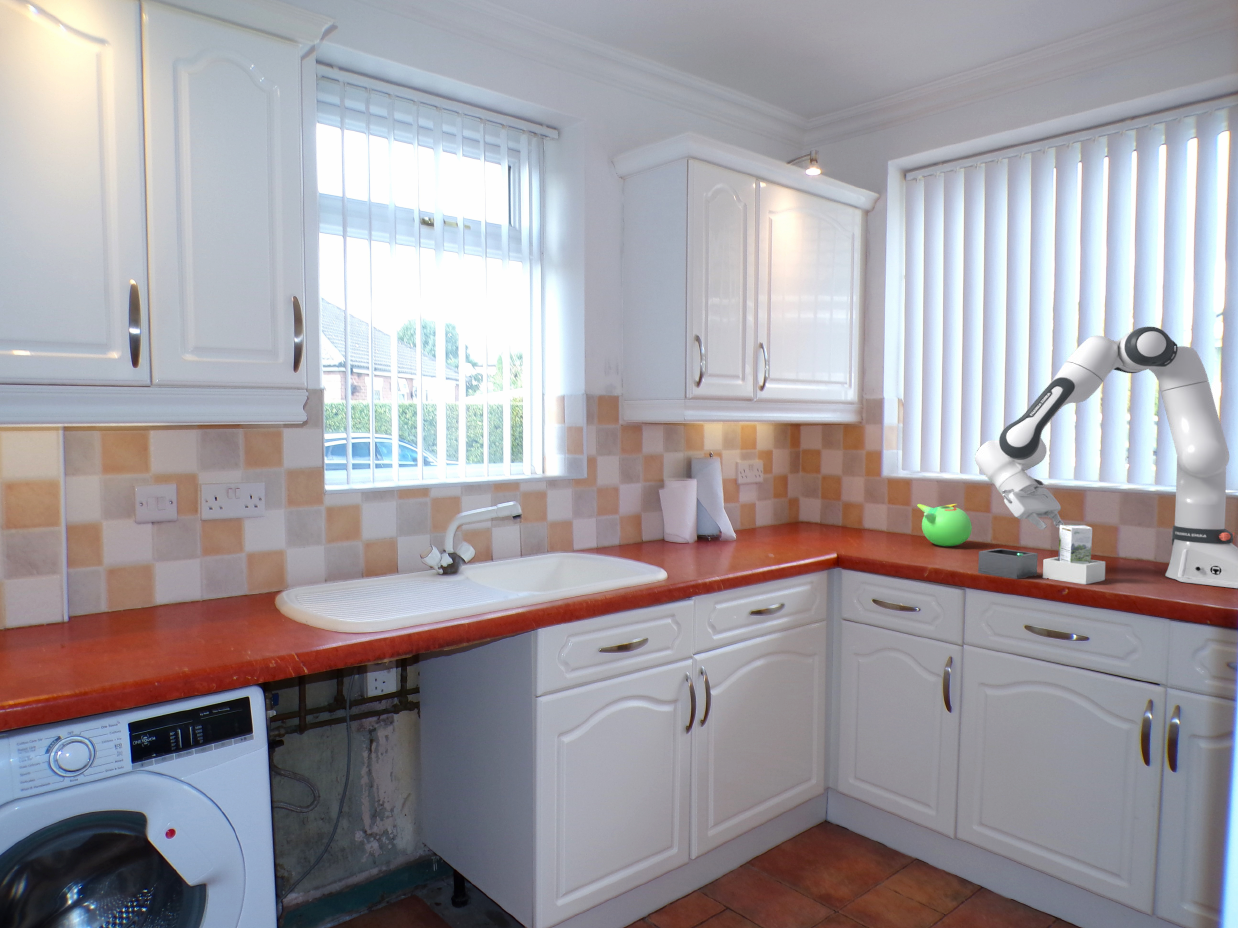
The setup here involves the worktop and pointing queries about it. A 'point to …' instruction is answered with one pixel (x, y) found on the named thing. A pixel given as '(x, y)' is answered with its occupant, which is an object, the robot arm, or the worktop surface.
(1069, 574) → the white storage tray
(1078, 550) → the syrup box
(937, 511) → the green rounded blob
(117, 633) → the worktop surface
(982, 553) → the gray storage box
